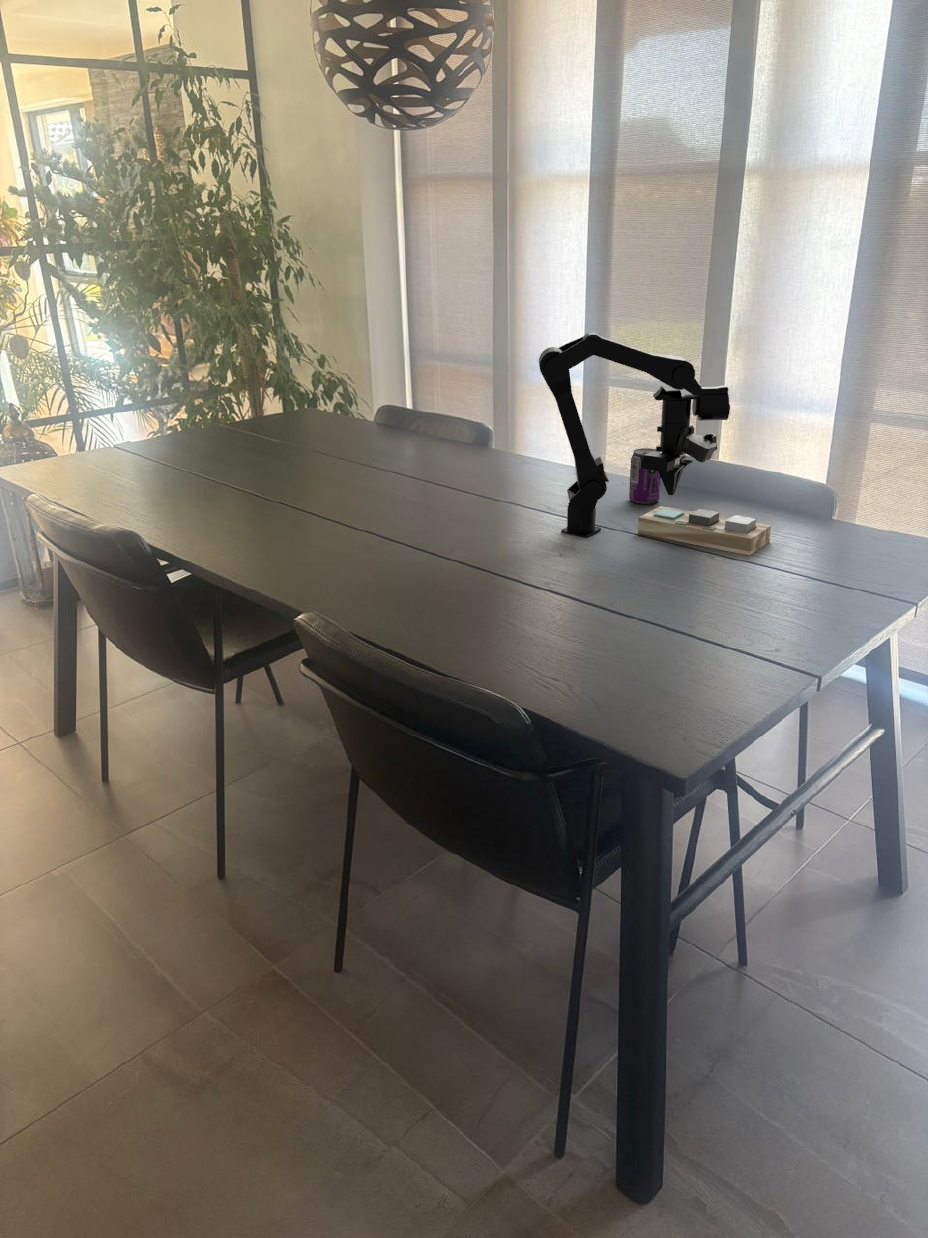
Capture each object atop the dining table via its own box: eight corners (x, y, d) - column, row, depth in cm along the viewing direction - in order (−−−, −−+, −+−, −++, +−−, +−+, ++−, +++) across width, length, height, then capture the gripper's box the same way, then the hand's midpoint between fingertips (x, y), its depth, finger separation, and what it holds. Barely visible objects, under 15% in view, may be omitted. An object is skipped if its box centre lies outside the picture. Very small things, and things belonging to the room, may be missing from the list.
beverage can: (659, 505, 217) (662, 455, 212) (628, 504, 219) (630, 454, 214) (659, 497, 224) (662, 447, 219) (629, 496, 225) (631, 447, 220)
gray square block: (708, 531, 192) (709, 517, 191) (688, 527, 194) (689, 514, 193) (718, 526, 195) (719, 512, 194) (697, 522, 198) (698, 508, 196)
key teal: (672, 531, 197) (673, 517, 196) (653, 527, 200) (654, 513, 198) (682, 525, 200) (683, 512, 199) (663, 521, 203) (664, 508, 202)
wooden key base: (749, 555, 185) (751, 537, 183) (637, 533, 199) (638, 516, 198) (769, 541, 192) (771, 524, 190) (659, 521, 206) (660, 505, 205)
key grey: (745, 538, 187) (747, 524, 186) (724, 534, 190) (725, 520, 189) (754, 532, 190) (756, 518, 189) (733, 528, 193) (734, 514, 192)
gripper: (691, 433, 180) (686, 511, 186) (731, 416, 193) (725, 490, 199) (639, 427, 186) (636, 503, 192) (682, 411, 199) (678, 482, 205)
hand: (671, 494), depth 197 cm, fingers closed
